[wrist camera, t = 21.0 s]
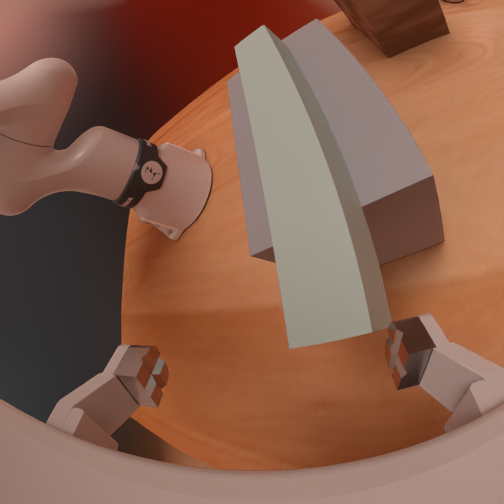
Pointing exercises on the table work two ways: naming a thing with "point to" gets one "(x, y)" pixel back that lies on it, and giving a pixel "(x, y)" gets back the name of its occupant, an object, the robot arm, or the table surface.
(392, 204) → the block
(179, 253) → the table surface
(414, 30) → the stand
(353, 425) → the table surface
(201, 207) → the robot arm
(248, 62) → the batten
